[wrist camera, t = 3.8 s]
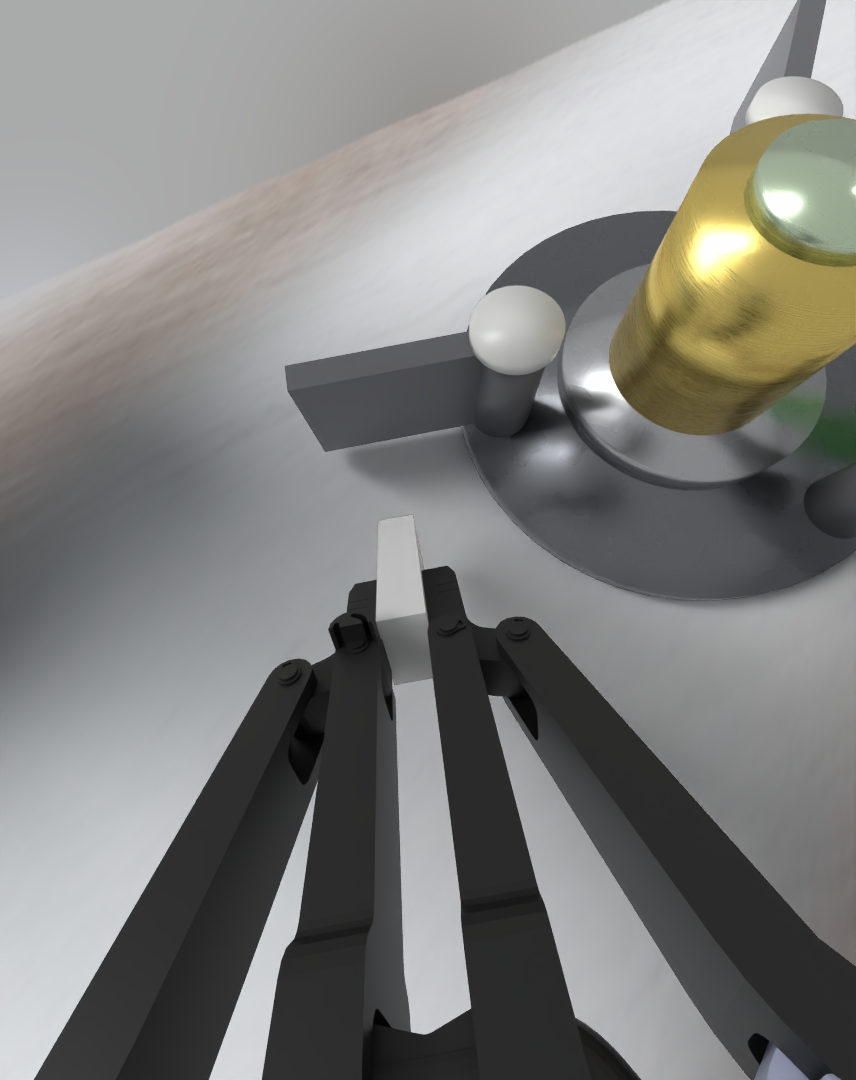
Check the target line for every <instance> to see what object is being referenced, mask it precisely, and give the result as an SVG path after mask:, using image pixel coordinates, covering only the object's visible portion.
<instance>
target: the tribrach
mask: <svg viewBox="0 0 856 1080" xmlns="http://www.w3.org/2000/svg"><path fill="white" fill-rule="evenodd" d="M517 285H519V286H528V287H532V288H535V289H538V290H540V291H542V292H544V293H546V294H547V295H549V296H550V297H551V298H553V299H554V300H555V301H556V303H557V304H558V305H559V306H560V308H561V310H562V312H563V314H564V318H565V325H566V327H565V334H564V338H563V340H562V343H561V346H560V348H559V351H558V353H557V354H556V356H555V357H554V359H553V360H552V361H551V362H550V363H549V364H548V365H546V366H545V369H544V372H543V375H542V378H541V381H540V384H539V387H538V390H537V393H536V396H535V399H534V401H533V404H532V407H531V410H530V413H529V416H528V419H527V421H526V423H525V425H524V426H523V427H522V428H521V429H520V430H519V431H518V432H517V433H515V434H513V435H510V436H507V437H492V436H489V435H486V434H484V433H482V432H481V431H479V430H478V429H477V428H476V427H475V426H474V424H469V425H464V426H462V431H463V434H464V438H465V441H466V444H467V448H468V451H469V454H470V456H471V458H472V460H473V463H474V465H475V467H476V469H477V471H478V473H479V475H480V478H481V479H482V481H483V482H484V484H485V485H486V487H487V489H488V490H489V492H490V493H491V495H492V496H493V498H494V499H495V501H496V502H497V503H498V504H499V506H500V507H501V508H502V509H503V510H504V512H505V513H506V514H507V515H508V516H509V517H510V519H511V520H512V521H513V522H514V523H515V524H516V525H517V526H518V527H519V528H520V529H521V530H522V531H523V532H525V533H526V534H527V535H528V536H529V537H530V538H531V539H532V540H533V541H534V542H535V543H537V544H538V545H540V546H541V547H542V548H544V549H545V550H547V551H548V552H549V553H551V554H552V555H554V556H555V557H556V558H558V559H559V560H561V561H562V562H564V563H566V564H568V565H570V566H572V567H573V568H575V569H577V570H579V571H581V572H583V573H584V574H586V575H588V576H591V577H593V578H596V579H598V580H601V581H603V582H606V583H608V584H611V585H613V586H616V587H618V588H622V589H626V590H630V591H633V592H637V593H641V594H645V595H649V596H655V597H662V598H670V599H677V600H722V599H731V598H739V597H747V596H752V595H758V594H762V593H766V592H770V591H774V590H777V589H781V588H785V587H789V586H792V585H795V584H797V583H799V582H802V581H804V580H806V579H809V578H811V577H813V576H816V575H818V574H820V573H822V572H824V571H825V570H827V569H829V568H830V567H832V566H833V565H835V564H837V563H838V562H840V561H842V560H843V559H845V558H846V557H847V556H849V555H850V554H851V553H852V552H853V551H854V550H856V538H852V539H840V538H835V537H832V536H829V535H827V534H825V533H824V532H822V531H820V530H819V529H818V528H817V527H816V526H815V525H814V524H813V523H812V522H811V521H810V519H809V518H808V516H807V514H806V511H805V508H804V496H805V492H806V490H807V489H808V487H809V486H810V485H811V484H812V483H813V482H815V481H817V480H819V479H821V478H823V477H825V476H827V475H830V474H832V473H834V472H836V471H838V470H840V469H843V468H845V467H847V466H849V465H851V464H854V463H856V120H854V119H849V118H845V117H840V116H833V115H825V114H791V115H783V116H776V117H772V118H768V119H764V120H760V121H758V122H755V123H752V124H749V125H747V126H745V127H743V128H741V129H739V130H737V131H735V132H733V133H732V134H730V135H729V136H727V137H726V138H724V139H723V140H722V141H721V142H720V143H719V144H718V145H717V146H715V147H714V149H713V150H712V151H711V152H710V153H709V155H708V156H707V157H706V159H705V161H704V163H703V164H702V166H701V168H700V170H699V172H698V174H697V175H696V177H695V179H694V181H693V183H692V185H691V187H690V189H689V191H688V193H687V195H686V196H685V198H684V200H683V202H682V204H681V206H680V208H679V210H678V212H674V211H645V212H633V213H625V214H618V215H612V216H608V217H604V218H599V219H595V220H591V221H588V222H585V223H582V224H579V225H577V226H574V227H571V228H568V229H566V230H564V231H562V232H560V233H558V234H556V235H554V236H552V237H550V238H548V239H546V240H544V241H542V242H541V243H539V244H538V245H536V246H535V247H533V248H532V249H530V250H529V251H527V252H526V253H524V254H523V255H522V256H521V257H519V258H518V259H517V260H516V261H515V262H514V263H512V264H511V265H510V266H509V267H508V268H507V269H506V270H505V271H504V272H503V273H502V274H501V275H500V277H499V278H498V279H497V280H496V281H495V282H494V283H493V284H492V286H491V287H490V289H489V290H488V292H487V293H486V295H487V294H488V293H490V292H492V291H494V290H496V289H499V288H502V287H506V286H517ZM468 331H469V327H468V330H467V332H468Z"/></svg>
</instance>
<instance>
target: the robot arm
mask: <svg viewBox="0 0 856 1080" xmlns="http://www.w3.org/2000/svg"><path fill="white" fill-rule="evenodd" d="M328 630H329V633H330V635H331V638H332V641H333V643H334V646H335V649H336V652H335V653H334V654H333V655H331V656H330V657H328V658H326V659H325V660H322V661H320V662H318V663H316V664H313V665H311V664H310V663H309V662H308V661H306V660H304V659H293V660H289V661H287V662H284V663H282V664H281V665H279V666H278V667H277V668H275V669H274V670H273V672H272V673H271V674H270V675H269V677H268V679H267V680H266V682H265V684H264V685H263V687H262V689H261V691H260V692H259V694H258V696H257V697H256V699H255V701H254V703H253V704H252V706H251V708H250V709H249V711H248V713H247V715H246V716H245V718H244V720H243V721H242V723H241V725H240V727H239V728H238V730H237V732H236V734H235V735H234V737H233V739H232V740H231V742H230V744H229V746H228V747H227V749H226V751H225V752H224V754H223V756H222V758H221V759H220V761H219V763H218V764H217V766H216V768H215V770H214V771H213V773H212V775H211V776H210V778H209V780H208V782H207V783H206V785H205V787H204V788H203V790H202V792H201V794H200V795H199V797H198V799H197V800H196V802H195V804H194V806H193V807H192V809H191V811H190V813H189V814H188V816H187V818H186V819H185V821H184V823H183V825H182V826H181V828H180V830H179V831H178V833H177V835H176V837H175V838H174V840H173V842H172V843H171V845H170V847H169V849H168V850H167V852H166V854H165V855H164V857H163V859H162V861H161V862H160V864H159V866H158V867H157V869H156V871H155V873H154V874H153V876H152V878H151V879H150V881H149V883H148V885H147V886H146V888H145V890H144V892H143V893H142V895H141V897H140V898H139V900H138V902H137V904H136V905H135V907H134V909H133V910H132V912H131V914H130V916H129V917H128V919H127V921H126V922H125V924H124V926H123V928H122V929H121V931H120V933H119V934H118V936H117V938H116V940H115V941H114V943H113V945H112V946H111V948H110V950H109V952H108V953H107V955H106V957H105V958H104V960H103V962H102V964H101V965H100V967H99V969H98V971H97V972H96V974H95V976H94V977H93V979H92V981H91V983H90V984H89V986H88V988H87V989H86V991H85V993H84V995H83V996H82V998H81V1000H80V1001H79V1003H78V1005H77V1007H76V1008H75V1010H74V1012H73V1013H72V1015H71V1017H70V1019H69V1020H68V1022H67V1024H66V1025H65V1027H64V1029H63V1031H62V1032H61V1034H60V1036H59V1037H58V1039H57V1041H56V1043H55V1044H54V1046H53V1048H52V1050H51V1051H50V1053H49V1055H48V1056H47V1058H46V1060H45V1062H44V1063H43V1065H42V1067H41V1068H40V1070H39V1072H38V1074H37V1075H36V1077H35V1079H34V1080H209V1077H210V1075H211V1072H212V1069H213V1066H214V1064H215V1061H216V1058H217V1055H218V1053H219V1050H220V1047H221V1044H222V1042H223V1039H224V1036H225V1033H226V1031H227V1028H228V1025H229V1022H230V1020H231V1017H232V1014H233V1011H234V1009H235V1006H236V1003H237V1000H238V998H239V995H240V992H241V989H242V987H243V984H244V981H245V978H246V976H247V973H248V970H249V967H250V965H251V962H252V959H253V956H254V954H255V951H256V948H257V946H258V943H259V940H260V937H261V935H262V932H263V929H264V926H265V924H266V921H267V918H268V915H269V913H270V910H271V907H272V904H273V902H274V899H275V896H276V893H277V891H278V888H279V885H280V882H281V880H282V877H283V874H284V871H285V869H286V866H287V863H288V860H289V858H290V855H291V852H292V849H293V847H294V844H295V841H296V838H297V836H298V833H299V830H300V827H301V825H302V822H303V819H304V816H305V814H306V811H307V808H308V806H309V803H310V800H311V797H312V795H313V792H314V789H315V786H316V784H317V781H318V785H317V792H316V799H315V807H314V814H313V822H312V829H311V836H310V844H309V851H308V858H307V866H306V873H305V881H304V888H303V895H302V903H301V910H300V918H299V924H298V929H297V933H296V936H295V938H294V940H293V941H292V942H291V943H290V944H289V945H288V947H287V948H286V950H285V953H284V955H283V958H282V960H281V965H280V970H279V974H278V979H277V986H276V992H275V999H274V1005H273V1012H272V1018H271V1024H270V1031H269V1037H268V1044H267V1050H266V1057H265V1063H264V1069H263V1076H262V1080H641V1079H640V1078H639V1076H638V1075H637V1074H636V1073H635V1072H634V1071H633V1069H632V1068H631V1067H630V1066H629V1065H628V1063H627V1062H626V1061H625V1060H624V1059H623V1058H622V1057H621V1055H620V1054H619V1053H618V1052H617V1051H616V1050H615V1049H614V1048H613V1047H612V1046H611V1045H610V1044H609V1043H608V1042H607V1041H606V1040H605V1039H604V1038H603V1037H602V1036H601V1035H599V1034H598V1033H597V1032H596V1031H594V1030H593V1029H592V1028H590V1027H589V1026H588V1025H586V1024H585V1023H583V1022H582V1021H580V1020H578V1019H576V1018H575V1016H574V1012H573V1008H572V1005H571V1001H570V997H569V993H568V990H567V986H566V982H565V978H564V974H563V971H562V967H561V963H560V959H559V955H558V952H557V948H556V944H555V940H554V936H553V933H552V929H551V925H550V922H549V918H548V914H547V911H546V908H545V905H544V902H543V899H542V897H541V895H540V892H539V889H538V886H537V882H536V879H535V875H534V871H533V867H532V863H531V859H530V856H529V852H528V848H527V844H526V840H525V836H524V832H523V829H522V825H521V821H520V817H519V813H518V809H517V805H516V802H515V798H514V794H513V790H512V786H511V782H510V778H509V774H508V771H507V767H506V763H505V759H504V755H503V751H502V747H501V744H500V740H499V736H498V732H497V728H496V724H495V720H494V716H493V713H492V709H491V705H490V701H489V697H488V695H493V696H503V698H504V701H505V702H506V704H507V706H508V707H509V709H510V710H511V712H512V714H513V715H514V717H515V718H516V720H517V722H518V723H519V725H520V726H521V728H522V730H523V731H524V733H525V734H526V736H527V738H528V739H529V741H530V742H531V744H532V746H533V747H534V749H535V750H536V752H537V754H538V755H539V757H540V758H541V760H542V762H543V763H544V765H545V767H546V768H547V770H548V771H549V773H550V775H551V776H552V778H553V779H554V781H555V783H556V784H557V786H558V787H559V789H560V791H561V792H562V794H563V795H564V797H565V799H566V800H567V802H568V803H569V805H570V807H571V808H572V810H573V811H574V813H575V815H576V816H577V818H578V819H579V821H580V823H581V824H582V826H583V827H584V829H585V831H586V832H587V834H588V835H589V837H590V839H591V840H592V842H593V843H594V845H595V847H596V848H597V850H598V851H599V853H600V855H601V856H602V858H603V859H604V861H605V863H606V864H607V866H608V867H609V869H610V871H611V872H612V874H613V876H614V877H615V879H616V880H617V882H618V884H619V885H620V887H621V888H622V890H623V892H624V893H625V895H626V896H627V898H628V900H629V901H630V903H631V904H632V906H633V908H634V909H635V911H636V912H637V914H638V916H639V917H640V919H641V920H642V922H643V924H644V925H645V927H646V928H647V930H648V932H649V933H650V935H651V936H652V938H653V940H654V941H655V943H656V944H657V946H658V948H659V949H660V951H661V952H662V954H663V956H664V957H665V959H666V960H667V962H668V964H669V965H670V967H671V968H672V970H673V972H674V973H675V975H676V976H677V978H678V980H679V981H680V983H681V985H682V986H683V988H684V989H685V991H686V993H687V994H688V995H689V997H690V998H691V1000H692V1001H693V1003H694V1004H695V1006H696V1007H697V1009H698V1010H699V1012H700V1013H701V1015H702V1016H703V1018H704V1019H705V1021H706V1022H707V1024H708V1025H709V1027H710V1028H711V1030H712V1031H713V1032H714V1034H715V1035H716V1036H717V1038H718V1039H719V1040H720V1041H721V1043H722V1044H723V1045H724V1047H725V1048H726V1049H727V1050H728V1052H729V1053H730V1054H731V1056H732V1057H733V1058H734V1059H735V1061H736V1062H737V1063H738V1065H739V1066H740V1067H741V1068H742V1070H743V1071H744V1072H745V1074H746V1075H747V1076H748V1077H749V1078H750V1079H751V1080H856V967H855V966H854V965H853V964H852V963H850V962H849V961H848V960H846V959H845V958H844V957H842V956H841V955H840V954H839V953H837V952H836V951H835V950H833V949H832V948H831V947H829V946H828V945H827V944H826V943H824V942H823V941H822V940H820V939H819V938H818V937H817V936H816V935H815V934H814V933H813V932H812V930H811V929H810V928H809V927H808V926H807V925H806V924H805V923H804V921H803V920H802V919H801V918H800V917H799V916H798V915H797V914H796V913H795V911H794V910H793V909H792V908H791V907H790V906H789V905H788V904H787V902H786V901H785V900H784V899H783V898H782V897H781V896H780V895H779V893H778V892H777V891H776V890H775V889H774V888H773V887H772V886H771V885H770V883H769V882H768V881H767V880H766V879H765V878H764V877H763V876H762V874H761V873H760V872H759V871H758V870H757V869H756V868H755V867H754V865H753V864H752V863H751V862H750V861H749V860H748V859H747V858H746V857H745V855H744V854H743V853H742V852H741V851H740V850H739V849H738V848H737V846H736V845H735V844H734V843H733V842H732V841H731V840H730V839H729V837H728V836H727V835H726V834H725V833H724V832H723V831H722V830H721V829H720V827H719V826H718V825H717V824H716V823H715V822H714V821H713V820H712V818H711V817H710V816H709V815H708V814H707V813H706V812H705V811H704V810H703V808H702V807H701V806H700V805H699V804H698V803H697V802H696V801H695V799H694V798H693V797H692V796H691V795H690V794H689V793H688V792H687V790H686V789H685V788H684V787H683V786H682V785H681V784H680V783H679V782H678V780H677V779H676V778H675V777H674V776H673V775H672V774H671V773H670V771H669V770H668V769H667V768H666V767H665V766H664V765H663V764H662V762H661V761H660V760H659V759H658V758H657V757H656V756H655V755H654V754H653V752H652V751H651V750H650V749H649V748H648V747H647V746H646V745H645V743H644V742H643V741H642V740H641V739H640V738H639V737H638V736H637V734H636V733H635V732H634V731H633V730H632V729H631V728H630V727H629V726H628V724H627V723H626V722H625V721H624V720H623V719H622V718H621V717H620V715H619V714H618V713H617V712H616V711H615V710H614V709H613V708H612V706H611V705H610V704H609V703H608V702H607V701H606V700H605V699H604V698H603V696H602V695H601V694H600V693H599V692H598V691H597V690H596V689H595V687H594V686H593V685H592V684H591V683H590V682H589V681H588V680H587V678H586V677H585V676H584V675H583V674H582V673H581V672H580V671H579V670H578V668H577V667H576V666H575V665H574V664H573V663H572V662H571V661H570V659H569V658H568V657H567V656H566V655H565V654H564V653H563V652H562V651H561V649H560V648H559V647H558V646H557V645H556V644H555V643H554V642H553V640H552V639H551V638H550V637H549V636H548V635H547V634H546V633H545V631H544V630H543V629H542V628H541V627H540V626H539V625H538V624H537V623H536V622H534V621H533V620H531V619H528V618H525V617H512V618H507V619H505V620H504V621H502V622H500V623H499V625H498V626H497V627H496V629H493V628H483V627H479V626H476V625H474V624H473V623H471V622H470V621H469V620H468V619H467V616H466V614H465V610H464V606H463V602H462V598H461V594H460V591H459V587H458V583H457V579H456V575H455V572H454V571H453V570H452V569H450V568H449V567H448V566H443V567H438V568H433V569H427V570H424V567H423V562H422V557H421V552H420V547H419V542H418V537H417V532H416V527H415V523H414V518H413V514H412V515H407V516H402V517H396V518H391V519H386V520H380V521H378V556H377V580H374V581H368V582H363V583H358V584H355V585H354V587H353V588H352V590H351V591H350V593H349V598H348V606H347V613H344V614H342V615H340V616H339V617H337V618H336V619H335V620H334V621H333V622H332V623H331V624H330V627H329V629H328ZM429 678H433V682H434V690H435V698H436V706H437V714H438V722H439V730H440V738H441V746H442V754H443V762H444V770H445V778H446V786H447V794H448V802H449V810H450V818H451V826H452V834H453V842H454V850H455V858H456V866H457V874H458V882H459V890H460V899H461V923H462V933H463V943H464V951H465V959H466V967H467V976H468V984H469V992H470V1000H471V1009H470V1010H468V1011H466V1012H465V1013H463V1014H461V1015H460V1016H458V1017H457V1018H455V1019H453V1020H452V1021H450V1022H448V1023H447V1024H445V1025H443V1026H442V1027H440V1028H438V1029H437V1030H435V1031H434V1032H432V1033H430V1034H425V1035H422V1034H417V1033H412V1032H411V1028H410V1013H409V1004H408V996H407V990H406V985H405V977H404V964H403V933H402V900H401V868H400V835H399V803H398V770H397V738H396V705H395V696H394V693H393V689H392V679H393V682H394V685H397V684H403V683H408V682H413V681H419V680H424V679H429Z"/></svg>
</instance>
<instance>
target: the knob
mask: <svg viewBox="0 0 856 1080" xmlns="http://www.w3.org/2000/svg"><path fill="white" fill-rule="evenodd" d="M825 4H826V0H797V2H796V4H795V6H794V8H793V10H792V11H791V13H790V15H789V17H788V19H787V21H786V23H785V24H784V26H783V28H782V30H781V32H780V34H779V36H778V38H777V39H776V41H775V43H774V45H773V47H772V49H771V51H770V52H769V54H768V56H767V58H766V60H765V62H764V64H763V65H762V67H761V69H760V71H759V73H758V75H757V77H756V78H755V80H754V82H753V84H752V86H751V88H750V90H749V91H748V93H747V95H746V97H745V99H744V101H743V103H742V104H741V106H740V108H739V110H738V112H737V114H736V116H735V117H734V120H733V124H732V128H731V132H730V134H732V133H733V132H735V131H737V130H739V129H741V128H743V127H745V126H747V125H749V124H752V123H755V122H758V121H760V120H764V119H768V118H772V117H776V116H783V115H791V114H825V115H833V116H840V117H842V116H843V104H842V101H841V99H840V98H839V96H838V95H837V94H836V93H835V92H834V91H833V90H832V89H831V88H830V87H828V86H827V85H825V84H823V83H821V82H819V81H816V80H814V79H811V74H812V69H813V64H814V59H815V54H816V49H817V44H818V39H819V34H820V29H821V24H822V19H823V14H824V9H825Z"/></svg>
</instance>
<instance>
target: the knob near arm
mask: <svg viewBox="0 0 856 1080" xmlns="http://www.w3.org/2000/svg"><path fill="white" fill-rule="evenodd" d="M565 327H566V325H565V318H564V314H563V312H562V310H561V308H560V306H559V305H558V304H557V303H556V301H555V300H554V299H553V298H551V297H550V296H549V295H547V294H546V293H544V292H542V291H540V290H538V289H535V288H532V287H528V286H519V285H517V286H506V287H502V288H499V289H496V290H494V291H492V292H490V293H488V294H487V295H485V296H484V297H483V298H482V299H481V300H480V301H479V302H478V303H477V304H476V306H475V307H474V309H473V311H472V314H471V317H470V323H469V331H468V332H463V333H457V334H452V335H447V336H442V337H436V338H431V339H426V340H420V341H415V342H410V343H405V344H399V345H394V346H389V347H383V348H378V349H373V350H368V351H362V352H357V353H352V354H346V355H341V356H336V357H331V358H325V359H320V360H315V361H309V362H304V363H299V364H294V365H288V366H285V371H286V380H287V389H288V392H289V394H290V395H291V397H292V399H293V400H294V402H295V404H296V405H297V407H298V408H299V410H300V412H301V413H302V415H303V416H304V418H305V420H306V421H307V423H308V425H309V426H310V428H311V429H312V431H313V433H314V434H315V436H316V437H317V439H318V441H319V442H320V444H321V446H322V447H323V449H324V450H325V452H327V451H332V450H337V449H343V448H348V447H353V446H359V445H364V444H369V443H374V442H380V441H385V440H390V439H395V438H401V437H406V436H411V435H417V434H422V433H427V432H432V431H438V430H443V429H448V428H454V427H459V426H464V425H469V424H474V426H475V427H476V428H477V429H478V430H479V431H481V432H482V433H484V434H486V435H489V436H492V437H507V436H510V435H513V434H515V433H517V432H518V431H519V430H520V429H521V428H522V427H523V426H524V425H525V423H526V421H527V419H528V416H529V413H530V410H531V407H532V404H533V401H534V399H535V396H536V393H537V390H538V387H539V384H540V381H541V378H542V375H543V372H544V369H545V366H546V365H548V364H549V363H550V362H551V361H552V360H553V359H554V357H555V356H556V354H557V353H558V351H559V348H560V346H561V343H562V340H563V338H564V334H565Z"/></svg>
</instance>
